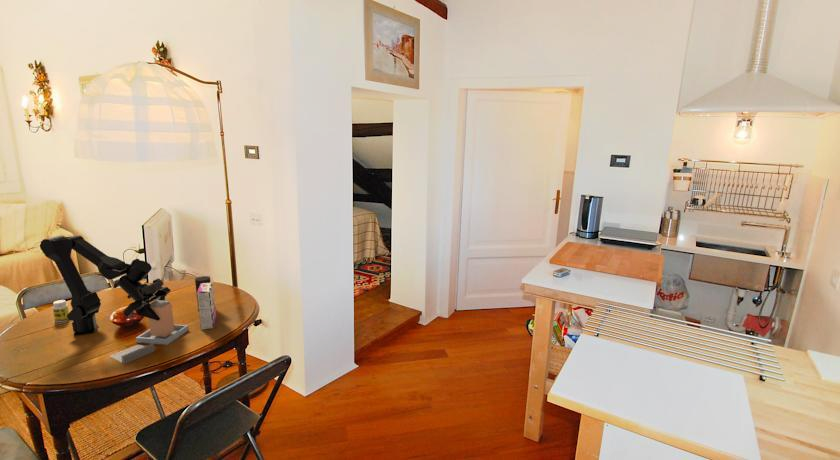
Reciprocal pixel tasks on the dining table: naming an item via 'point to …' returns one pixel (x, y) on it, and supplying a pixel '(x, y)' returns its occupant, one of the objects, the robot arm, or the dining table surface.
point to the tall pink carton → (162, 318)
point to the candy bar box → (206, 305)
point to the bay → (133, 353)
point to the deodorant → (201, 280)
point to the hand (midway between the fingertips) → (164, 316)
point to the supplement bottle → (60, 311)
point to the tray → (160, 340)
